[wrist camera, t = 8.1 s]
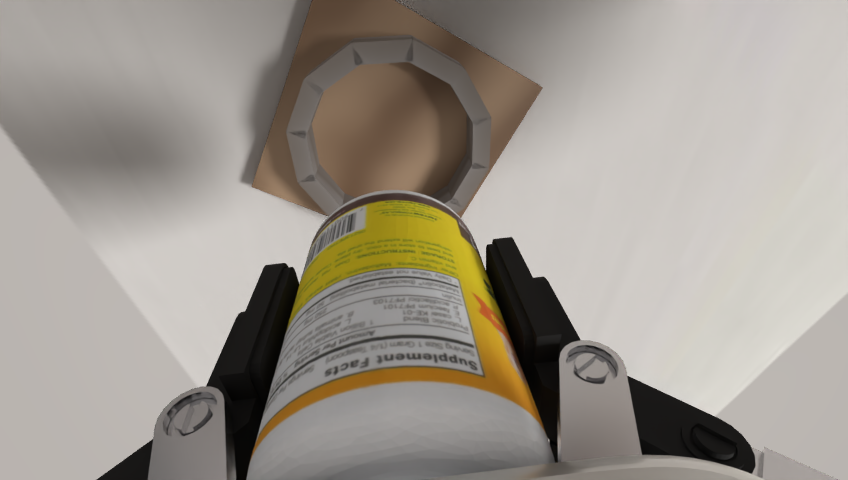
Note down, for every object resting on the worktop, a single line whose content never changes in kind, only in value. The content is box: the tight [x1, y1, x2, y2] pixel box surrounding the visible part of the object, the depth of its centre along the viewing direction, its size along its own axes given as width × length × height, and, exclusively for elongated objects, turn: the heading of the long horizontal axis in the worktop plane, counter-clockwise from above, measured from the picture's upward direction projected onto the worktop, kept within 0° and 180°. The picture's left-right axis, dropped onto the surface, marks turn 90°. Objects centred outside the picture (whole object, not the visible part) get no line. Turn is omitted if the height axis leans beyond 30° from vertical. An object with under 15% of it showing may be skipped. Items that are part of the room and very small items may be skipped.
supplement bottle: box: [246, 190, 555, 480], centre depth 9 cm, size 6×6×10 cm
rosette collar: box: [252, 0, 542, 218], centre depth 24 cm, size 13×13×3 cm
